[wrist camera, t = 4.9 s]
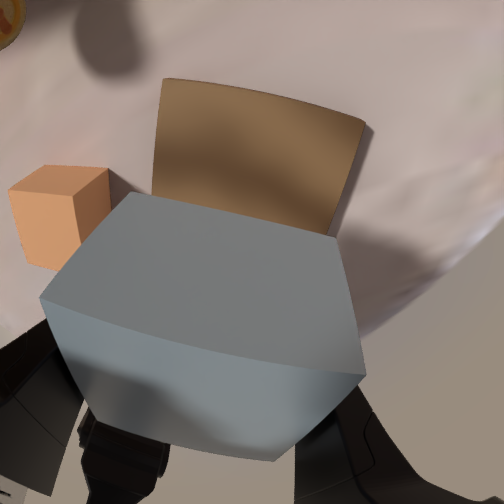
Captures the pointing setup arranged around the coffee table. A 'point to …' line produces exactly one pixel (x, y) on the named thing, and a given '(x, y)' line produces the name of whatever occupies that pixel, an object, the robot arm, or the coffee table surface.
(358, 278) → the coffee table surface
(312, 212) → the walnut base plate
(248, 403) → the slate-blue block
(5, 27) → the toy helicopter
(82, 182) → the terracotta block
